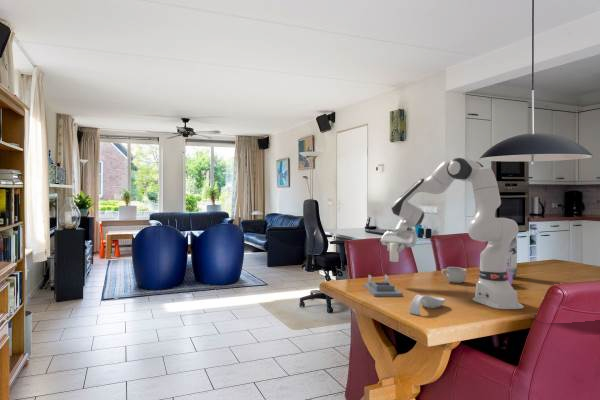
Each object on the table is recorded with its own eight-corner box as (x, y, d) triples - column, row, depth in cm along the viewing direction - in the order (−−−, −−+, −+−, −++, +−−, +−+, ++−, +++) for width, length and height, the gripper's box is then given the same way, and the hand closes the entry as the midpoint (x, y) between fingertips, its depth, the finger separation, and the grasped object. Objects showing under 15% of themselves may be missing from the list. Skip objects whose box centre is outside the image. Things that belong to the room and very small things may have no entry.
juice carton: (500, 278, 246) (501, 233, 246) (498, 275, 256) (498, 232, 256) (517, 279, 243) (517, 234, 243) (514, 276, 253) (514, 232, 253)
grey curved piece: (423, 301, 191) (423, 286, 190) (448, 306, 183) (449, 290, 183) (401, 312, 172) (401, 295, 172) (428, 318, 165) (428, 300, 165)
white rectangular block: (399, 261, 224) (399, 243, 224) (391, 262, 224) (391, 243, 224) (396, 260, 229) (397, 242, 229) (388, 260, 229) (388, 242, 229)
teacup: (463, 280, 239) (463, 266, 239) (468, 284, 228) (469, 270, 228) (438, 279, 240) (438, 266, 240) (443, 283, 229) (443, 269, 229)
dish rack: (402, 296, 200) (402, 283, 200) (374, 296, 199) (374, 283, 199) (388, 285, 224) (388, 273, 224) (363, 285, 223) (363, 274, 223)
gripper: (383, 227, 239) (375, 245, 231) (416, 229, 225) (408, 248, 218) (387, 234, 242) (379, 252, 235) (420, 236, 229) (412, 256, 221)
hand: (393, 250), depth 226 cm, fingers closed on white rectangular block, 5 cm apart
